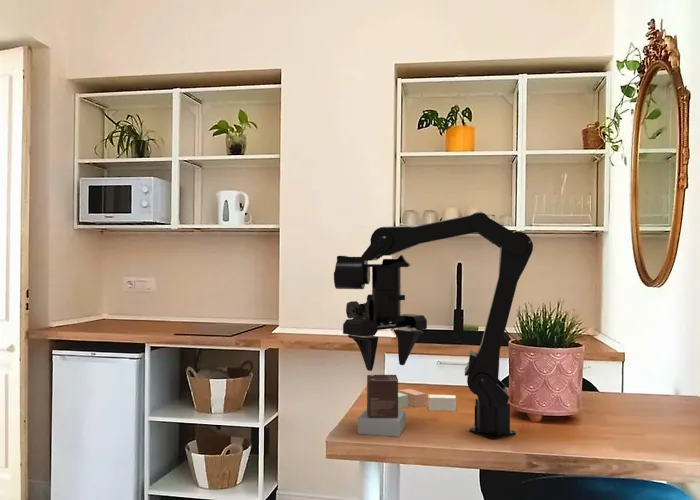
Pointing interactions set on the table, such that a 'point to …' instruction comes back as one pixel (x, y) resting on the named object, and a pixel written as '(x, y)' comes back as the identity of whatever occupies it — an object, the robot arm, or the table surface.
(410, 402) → the terracotta brick
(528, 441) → the table surface
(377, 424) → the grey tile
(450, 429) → the table surface
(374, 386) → the box
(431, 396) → the cream brick
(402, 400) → the sage brick
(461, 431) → the table surface
